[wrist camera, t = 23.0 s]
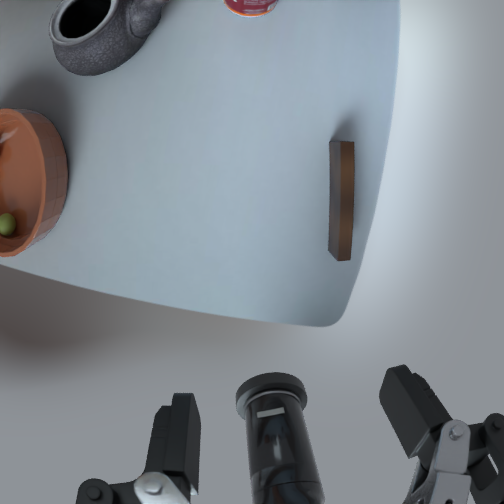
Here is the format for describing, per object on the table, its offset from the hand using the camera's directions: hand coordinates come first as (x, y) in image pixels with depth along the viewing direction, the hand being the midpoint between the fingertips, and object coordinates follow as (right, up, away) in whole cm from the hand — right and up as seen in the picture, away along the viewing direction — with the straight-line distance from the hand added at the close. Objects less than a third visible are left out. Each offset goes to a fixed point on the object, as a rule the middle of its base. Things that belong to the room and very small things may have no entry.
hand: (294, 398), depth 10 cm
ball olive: (-35, +9, +19) cm, 41 cm away
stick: (+8, +12, +22) cm, 26 cm away
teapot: (-17, +35, +12) cm, 40 cm away
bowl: (-33, +16, +17) cm, 40 cm away
